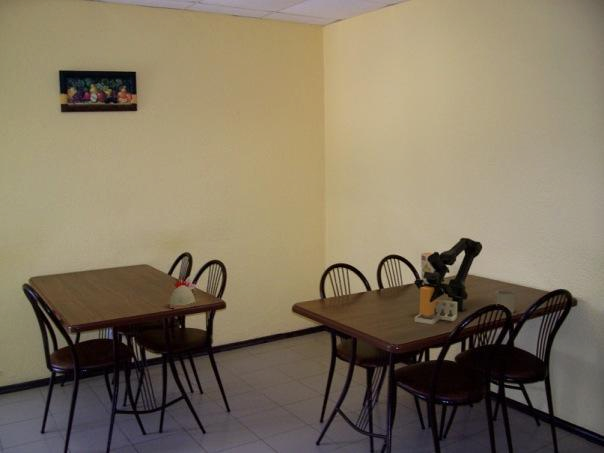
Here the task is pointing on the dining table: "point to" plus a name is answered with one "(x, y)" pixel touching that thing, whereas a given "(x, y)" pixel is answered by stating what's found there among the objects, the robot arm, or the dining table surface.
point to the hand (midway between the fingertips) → (425, 300)
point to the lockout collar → (431, 320)
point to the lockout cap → (426, 300)
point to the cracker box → (425, 265)
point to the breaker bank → (445, 310)
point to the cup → (506, 299)
